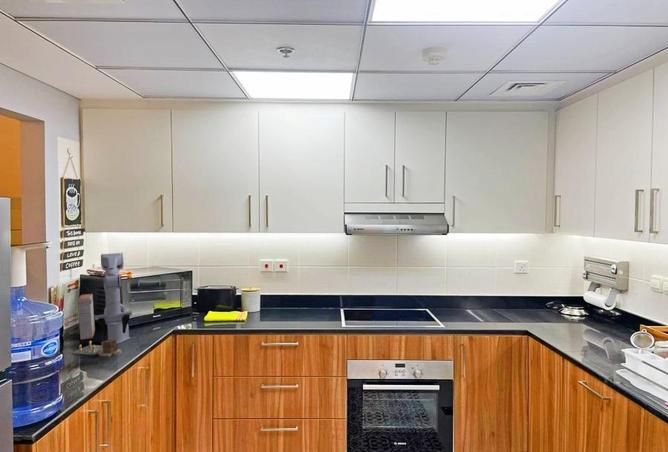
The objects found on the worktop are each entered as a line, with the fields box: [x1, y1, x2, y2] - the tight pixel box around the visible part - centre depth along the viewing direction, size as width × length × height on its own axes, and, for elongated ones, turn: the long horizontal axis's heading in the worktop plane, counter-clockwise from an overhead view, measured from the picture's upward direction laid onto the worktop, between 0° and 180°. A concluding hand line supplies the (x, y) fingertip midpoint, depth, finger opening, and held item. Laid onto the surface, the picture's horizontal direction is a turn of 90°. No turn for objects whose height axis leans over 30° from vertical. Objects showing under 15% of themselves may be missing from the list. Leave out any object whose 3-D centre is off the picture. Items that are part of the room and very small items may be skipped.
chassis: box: [73, 340, 105, 356], centre depth 207 cm, size 10×11×4 cm
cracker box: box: [77, 293, 96, 340], centre depth 233 cm, size 14×6×21 cm, turn 23°
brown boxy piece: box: [98, 339, 123, 358], centre depth 203 cm, size 8×9×6 cm
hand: (114, 334), depth 195 cm, fingers open, 7 cm apart
